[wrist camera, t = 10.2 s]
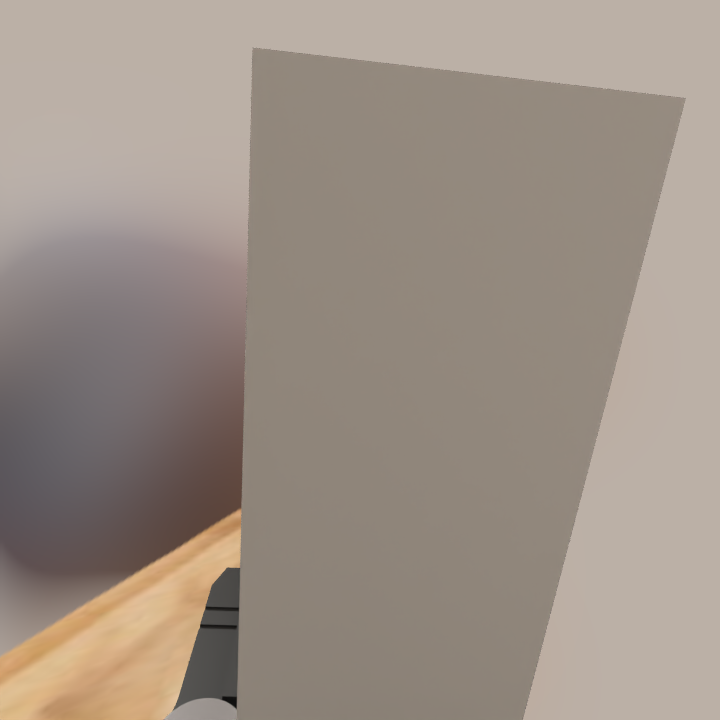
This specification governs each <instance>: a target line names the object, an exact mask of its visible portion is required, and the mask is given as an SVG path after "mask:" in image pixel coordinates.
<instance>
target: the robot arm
mask: <svg viewBox="0 0 720 720" xmlns="http://www.w3.org/2000/svg"><path fill="white" fill-rule="evenodd" d="M239 599H240V568H227V569H226V570H225V571H224V572H223V573H222V574H221V576H220V577H219V578H218V579H217V580H216V581H215V582H214V584H213V585H212V587H211V590H210V594H209V597H208V600H207V604H206V609H205V611H204V614H203V617H202V620H201V624H200V629H199V631H198V634H197V637H196V641H195V644H194V647H193V651H192V654H191V657H190V661H189V664H188V667H187V671H186V674H185V678H184V681H183V684H182V688H181V691H180V694H179V698H178V700H177V703H176V705H175V707H174V709H173V711H172V712H171V713H170V714H169V715H168V716H167V717H166V718H165V719H164V720H237V683H238V641H239Z"/></svg>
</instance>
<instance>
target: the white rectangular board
mask: <svg viewBox="0 0 720 720" xmlns="http://www.w3.org/2000/svg"><path fill="white" fill-rule="evenodd" d="M684 103H685V98H680V97H671V96H663V95H654V94H646V93H637V92H629V91H619V90H611V89H603V88H594V87H586V86H577V85H569V84H560V83H551V82H543V81H534V80H525V79H517V78H508V77H500V76H491V75H482V74H473V73H466V72H457V71H449V70H440V69H431V68H422V67H414V66H406V65H397V64H389V63H378V62H371V61H362V60H354V59H346V58H337V57H328V56H319V55H311V54H303V53H293V52H285V51H277V50H268V49H260V48H253V56H252V97H251V138H250V139H251V140H250V179H249V222H248V263H247V264H248V266H247V305H246V308H247V309H246V348H245V389H244V390H245V391H244V431H243V473H242V515H241V557H240V599H239V641H238V683H237V720H523V716H524V713H525V709H526V705H527V701H528V697H529V694H530V690H531V686H532V682H533V679H534V675H535V671H536V667H537V663H538V659H539V656H540V652H541V648H542V644H543V640H544V637H545V633H546V629H547V625H548V621H549V618H550V614H551V610H552V606H553V602H554V598H555V595H556V591H557V587H558V583H559V579H560V576H561V572H562V568H563V564H564V560H565V557H566V553H567V549H568V544H569V541H570V537H571V534H572V530H573V526H574V522H575V518H576V515H577V510H578V507H579V503H580V499H581V496H582V491H583V488H584V484H585V480H586V476H587V473H588V469H589V465H590V461H591V457H592V454H593V449H594V446H595V442H596V438H597V434H598V431H599V427H600V423H601V419H602V415H603V412H604V408H605V404H606V400H607V396H608V392H609V389H610V385H611V381H612V377H613V374H614V370H615V366H616V362H617V358H618V354H619V351H620V347H621V343H622V339H623V335H624V332H625V328H626V324H627V320H628V316H629V313H630V309H631V305H632V301H633V297H634V294H635V290H636V286H637V282H638V278H639V275H640V271H641V267H642V263H643V259H644V255H645V252H646V248H647V244H648V240H649V236H650V232H651V229H652V225H653V221H654V217H655V213H656V210H657V206H658V202H659V198H660V194H661V191H662V187H663V182H664V179H665V175H666V171H667V168H668V164H669V160H670V156H671V153H672V149H673V145H674V141H675V137H676V133H677V130H678V126H679V122H680V118H681V114H682V111H683V106H684Z"/></svg>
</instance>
